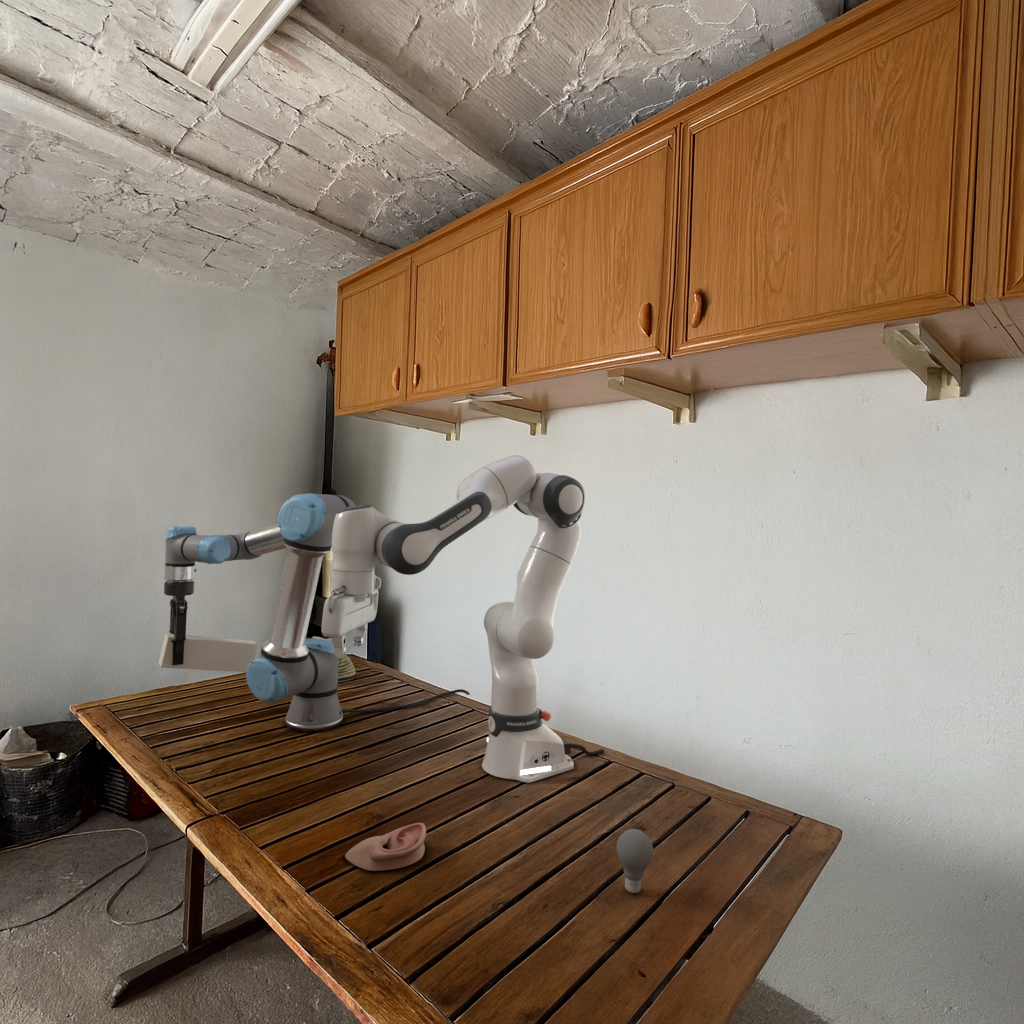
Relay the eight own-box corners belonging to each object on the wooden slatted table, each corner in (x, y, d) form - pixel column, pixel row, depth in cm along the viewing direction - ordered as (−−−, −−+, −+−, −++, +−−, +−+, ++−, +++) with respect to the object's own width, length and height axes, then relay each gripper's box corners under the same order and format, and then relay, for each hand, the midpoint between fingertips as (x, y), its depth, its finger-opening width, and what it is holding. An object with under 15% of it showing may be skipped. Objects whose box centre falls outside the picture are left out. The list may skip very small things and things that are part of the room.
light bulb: (610, 879, 108) (613, 822, 108) (644, 879, 109) (647, 822, 109) (619, 902, 102) (622, 840, 102) (655, 901, 103) (658, 840, 103)
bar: (160, 667, 175) (168, 637, 176) (158, 663, 179) (165, 633, 180) (251, 672, 190) (257, 644, 191) (247, 668, 194) (253, 640, 195)
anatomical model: (337, 842, 109) (366, 811, 120) (336, 865, 109) (365, 832, 120) (410, 854, 106) (432, 821, 117) (409, 878, 106) (432, 842, 118)
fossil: (295, 681, 213) (297, 637, 213) (346, 673, 226) (347, 631, 225) (307, 688, 207) (308, 642, 206) (358, 679, 219) (360, 636, 219)
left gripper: (199, 584, 174) (196, 668, 175) (189, 576, 189) (186, 653, 189) (168, 585, 170) (165, 671, 170) (160, 576, 185) (157, 656, 185)
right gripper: (346, 591, 119) (343, 664, 120) (383, 578, 140) (381, 641, 140) (314, 589, 120) (311, 661, 121) (356, 577, 141) (354, 639, 141)
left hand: (176, 661), depth 180 cm, fingers closed on bar, 5 cm apart
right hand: (349, 650), depth 130 cm, fingers open, 8 cm apart
